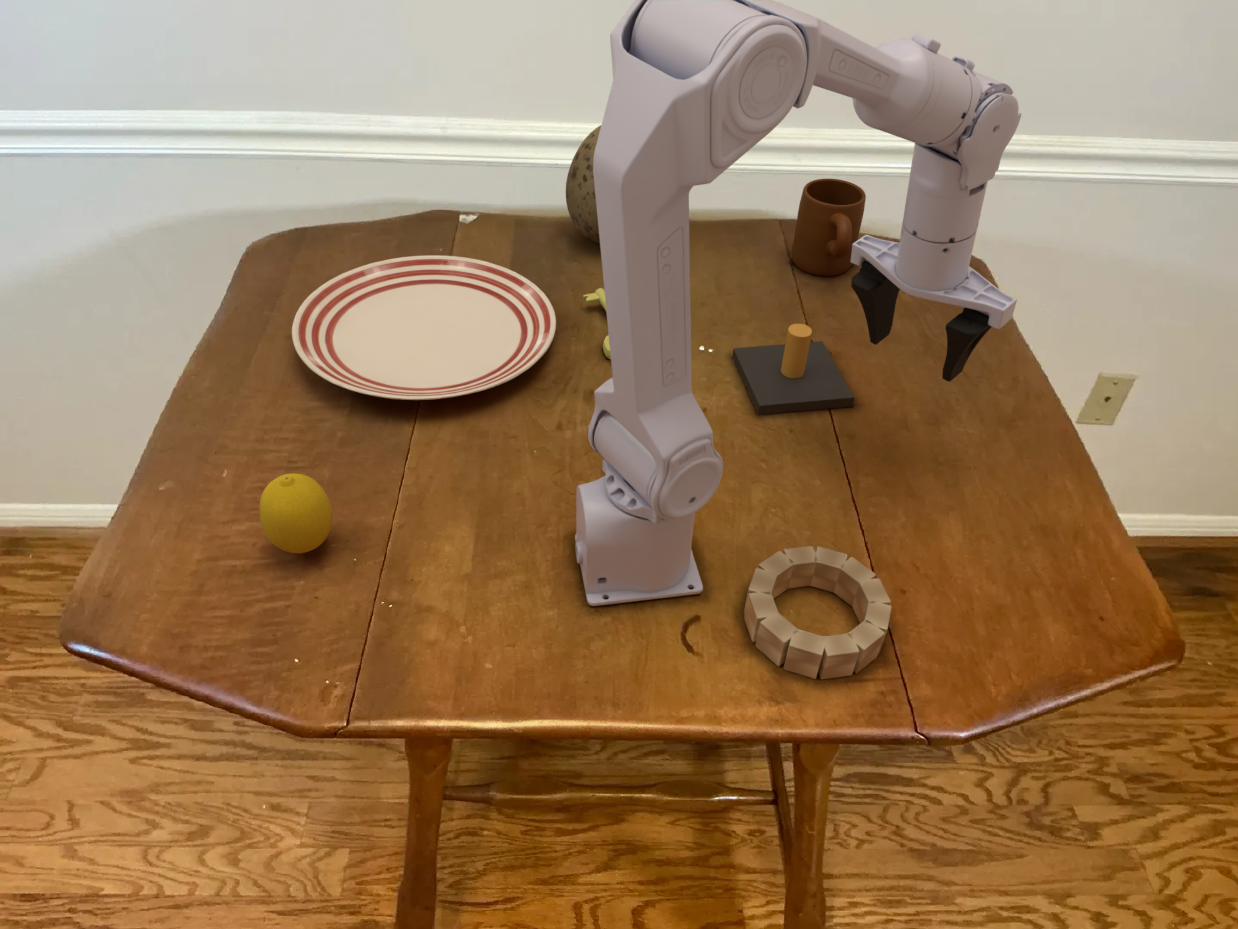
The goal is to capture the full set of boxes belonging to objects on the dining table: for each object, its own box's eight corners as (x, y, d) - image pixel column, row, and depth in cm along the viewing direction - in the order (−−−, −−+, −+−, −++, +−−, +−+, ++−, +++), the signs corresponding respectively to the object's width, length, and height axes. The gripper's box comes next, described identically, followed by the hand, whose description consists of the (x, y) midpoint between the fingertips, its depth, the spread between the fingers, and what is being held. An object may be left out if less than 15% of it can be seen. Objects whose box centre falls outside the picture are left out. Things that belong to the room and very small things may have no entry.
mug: (865, 298, 112) (882, 225, 105) (801, 297, 111) (815, 224, 105) (845, 247, 121) (859, 177, 114) (785, 246, 120) (797, 176, 114)
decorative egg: (657, 259, 117) (664, 141, 107) (570, 263, 116) (569, 143, 106) (643, 218, 125) (649, 104, 115) (562, 221, 124) (561, 106, 114)
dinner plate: (522, 262, 115) (521, 238, 113) (587, 395, 96) (588, 368, 94) (288, 295, 108) (282, 269, 106) (309, 445, 89) (302, 417, 87)
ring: (767, 687, 70) (773, 663, 68) (730, 578, 78) (734, 554, 76) (903, 669, 72) (913, 644, 70) (853, 564, 80) (860, 539, 78)
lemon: (305, 582, 77) (284, 512, 71) (257, 554, 79) (234, 484, 73) (353, 541, 80) (337, 471, 75) (306, 515, 82) (287, 446, 77)
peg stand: (758, 415, 95) (766, 362, 90) (732, 357, 102) (738, 306, 98) (852, 406, 96) (865, 354, 92) (820, 350, 103) (830, 299, 99)
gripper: (1051, 234, 73) (1013, 369, 83) (893, 173, 81) (875, 303, 90) (1000, 275, 70) (967, 410, 79) (841, 208, 78) (828, 338, 87)
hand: (915, 356), depth 85 cm, fingers open, 7 cm apart
